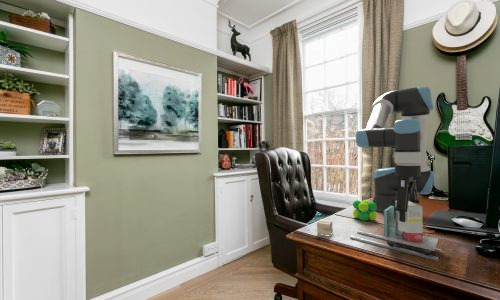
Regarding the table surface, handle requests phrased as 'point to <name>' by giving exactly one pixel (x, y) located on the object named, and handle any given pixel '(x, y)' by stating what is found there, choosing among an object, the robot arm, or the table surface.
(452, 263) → the table surface
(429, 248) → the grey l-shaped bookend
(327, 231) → the beech block
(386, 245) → the track
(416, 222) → the ink box
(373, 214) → the molecule model
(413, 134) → the robot arm
